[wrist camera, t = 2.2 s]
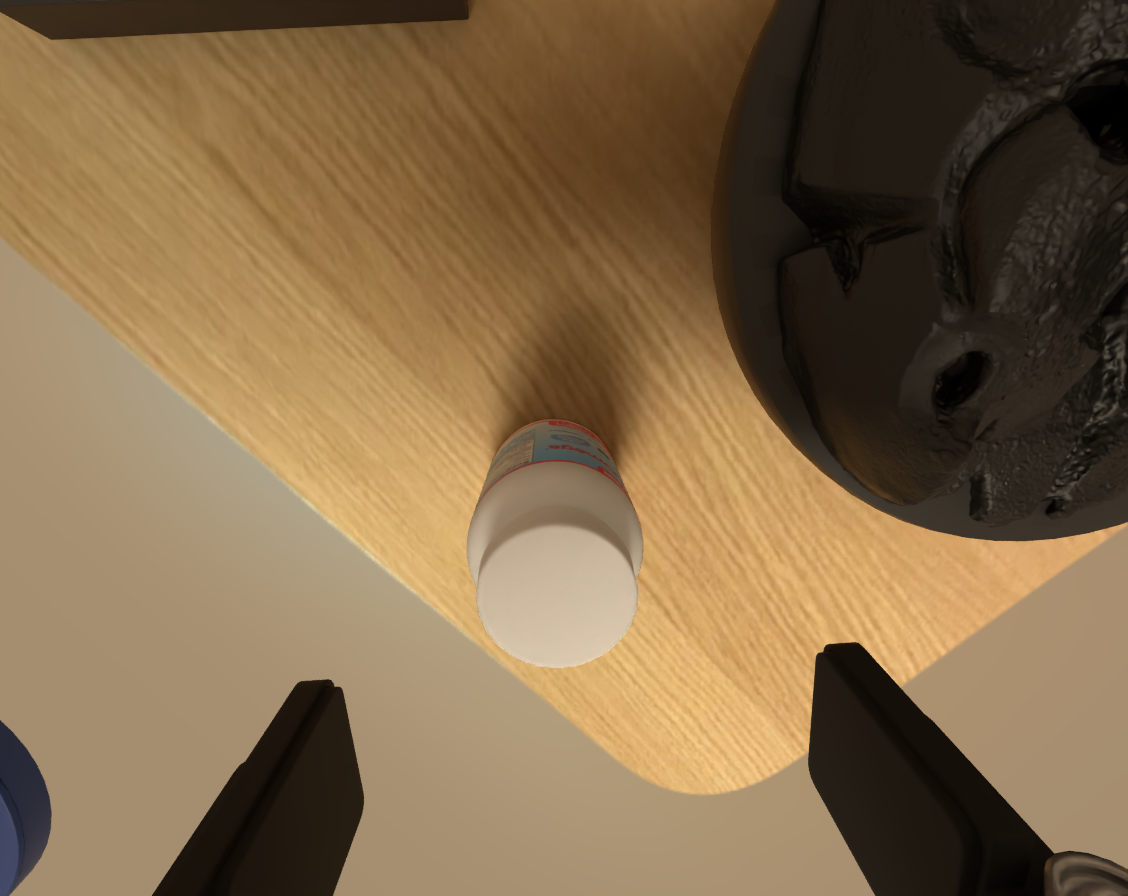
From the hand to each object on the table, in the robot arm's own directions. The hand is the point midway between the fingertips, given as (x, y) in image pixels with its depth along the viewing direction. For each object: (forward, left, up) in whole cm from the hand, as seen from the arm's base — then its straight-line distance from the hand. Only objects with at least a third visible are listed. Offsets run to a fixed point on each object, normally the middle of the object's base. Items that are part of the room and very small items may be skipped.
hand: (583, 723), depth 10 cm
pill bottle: (0, 0, -16) cm, 16 cm away
